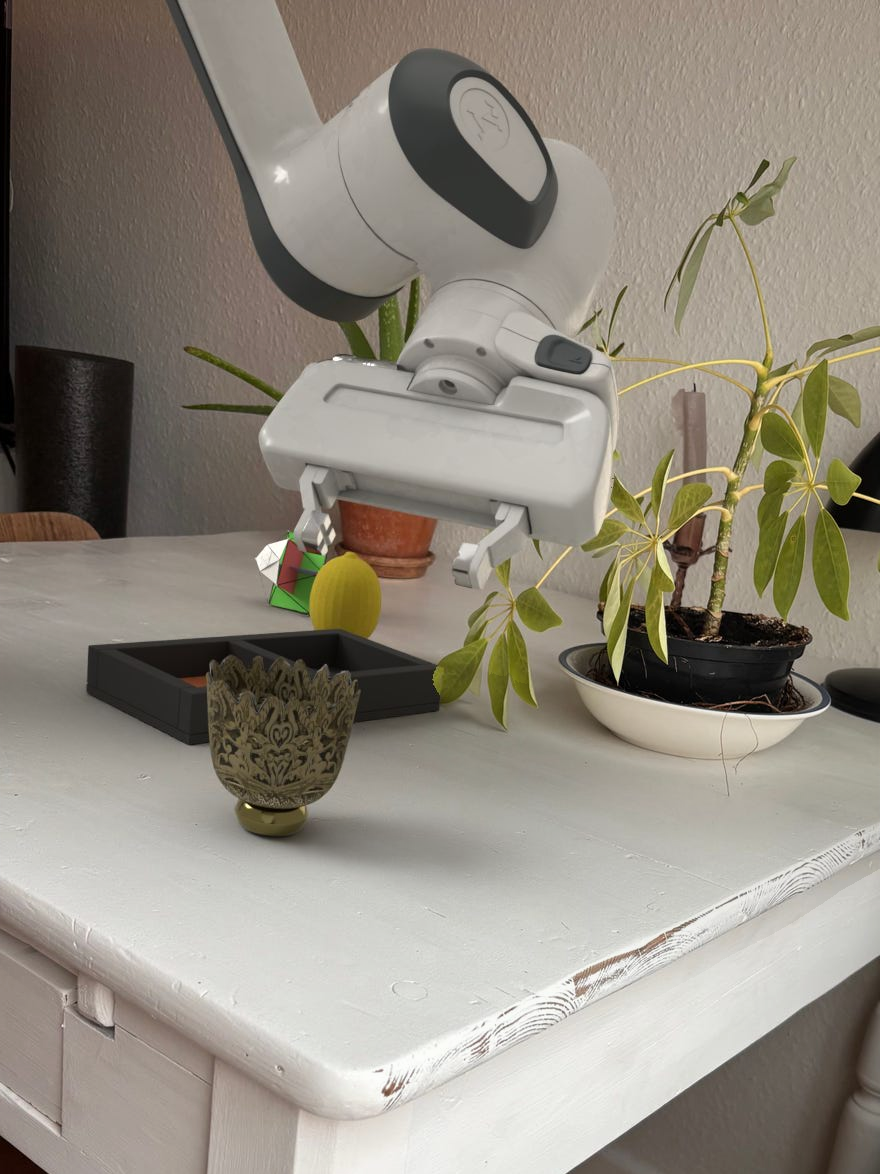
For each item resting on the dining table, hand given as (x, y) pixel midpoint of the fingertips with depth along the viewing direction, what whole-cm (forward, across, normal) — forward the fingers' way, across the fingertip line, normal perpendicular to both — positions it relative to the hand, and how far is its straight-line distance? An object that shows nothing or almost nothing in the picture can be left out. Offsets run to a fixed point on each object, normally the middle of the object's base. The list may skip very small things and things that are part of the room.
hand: (385, 563), depth 69 cm
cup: (+16, 0, +2) cm, 16 cm away
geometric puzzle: (-18, -25, +36) cm, 47 cm away
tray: (+2, -11, +16) cm, 19 cm away
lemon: (-10, -14, +28) cm, 32 cm away
